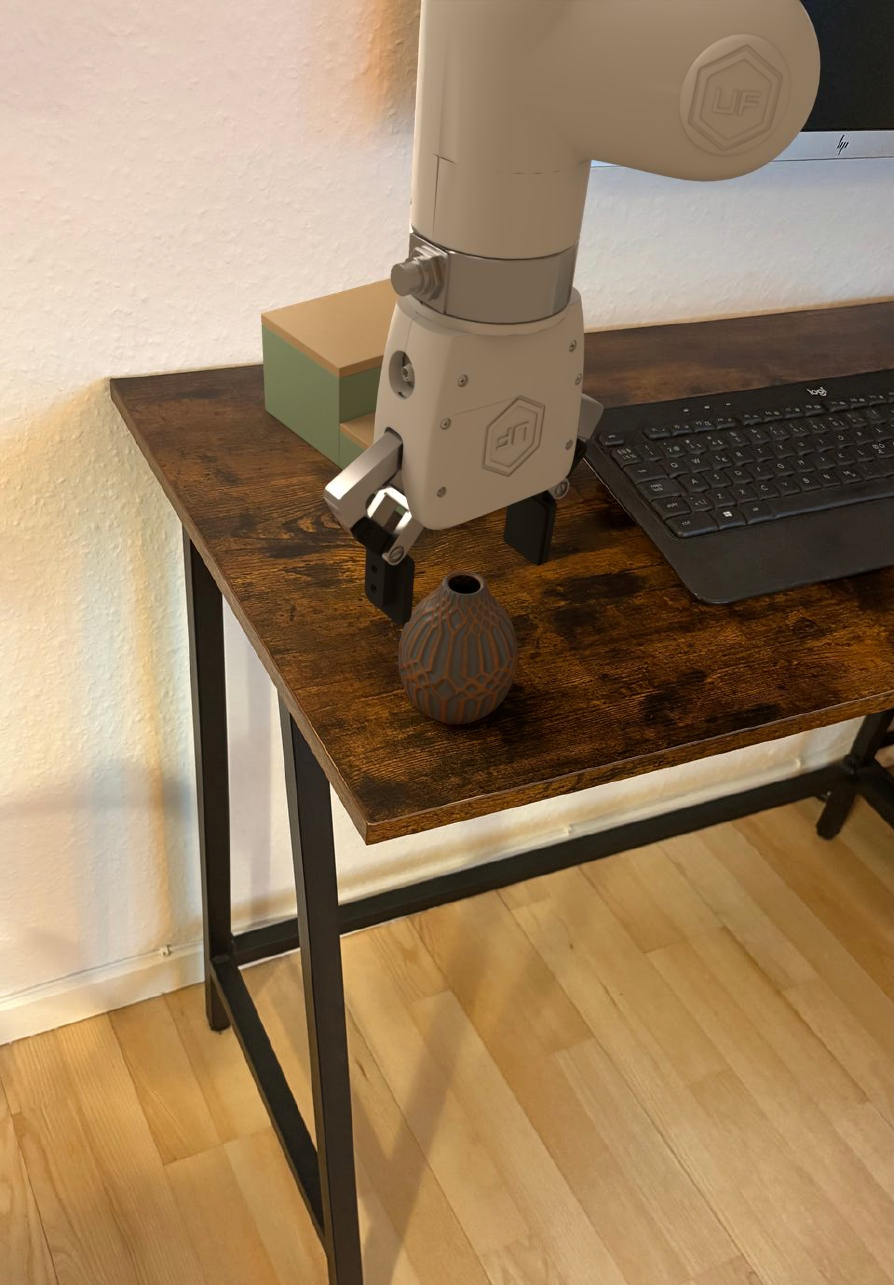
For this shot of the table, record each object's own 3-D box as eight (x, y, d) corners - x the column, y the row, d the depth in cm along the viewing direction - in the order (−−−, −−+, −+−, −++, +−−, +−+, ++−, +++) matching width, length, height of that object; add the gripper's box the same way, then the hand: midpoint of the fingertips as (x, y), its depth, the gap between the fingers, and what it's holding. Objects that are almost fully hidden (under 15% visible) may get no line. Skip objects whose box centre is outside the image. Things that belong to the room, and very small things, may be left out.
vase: (456, 650, 77) (467, 532, 71) (534, 708, 74) (553, 589, 67) (372, 696, 74) (375, 575, 67) (450, 759, 70) (461, 638, 64)
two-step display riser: (539, 475, 92) (552, 377, 87) (413, 524, 87) (418, 424, 81) (387, 371, 102) (390, 278, 96) (264, 410, 96) (260, 313, 91)
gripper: (386, 346, 49) (372, 675, 61) (683, 260, 57) (618, 564, 70) (281, 275, 53) (287, 598, 65) (574, 204, 61) (530, 502, 73)
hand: (458, 580), depth 67 cm, fingers open, 9 cm apart
